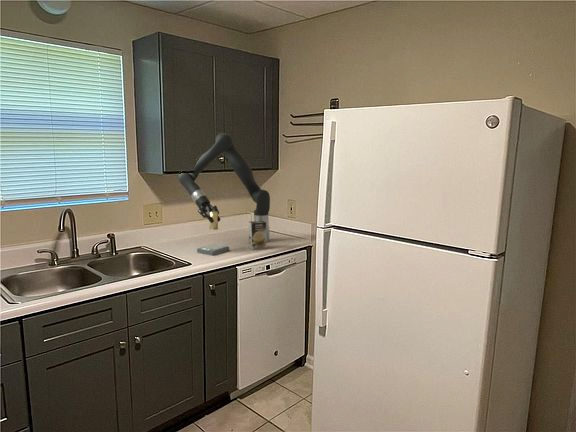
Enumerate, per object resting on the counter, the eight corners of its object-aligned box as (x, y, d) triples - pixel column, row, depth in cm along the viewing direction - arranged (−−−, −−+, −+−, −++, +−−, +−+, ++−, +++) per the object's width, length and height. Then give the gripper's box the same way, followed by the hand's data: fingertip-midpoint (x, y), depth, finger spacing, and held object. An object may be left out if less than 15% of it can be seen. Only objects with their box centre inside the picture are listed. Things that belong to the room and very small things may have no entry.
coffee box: (251, 250, 257) (251, 223, 255) (248, 247, 263) (248, 221, 261) (266, 248, 261) (266, 222, 258) (263, 246, 267) (263, 220, 264)
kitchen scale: (214, 248, 263) (214, 243, 262) (229, 250, 256) (229, 245, 255) (197, 252, 251) (197, 247, 251) (212, 255, 244) (212, 250, 244)
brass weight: (213, 228, 256) (213, 211, 254) (219, 228, 253) (219, 211, 251) (207, 229, 252) (207, 212, 250) (214, 230, 249) (213, 212, 247)
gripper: (194, 196, 247) (210, 219, 243) (212, 193, 259) (228, 215, 255) (188, 204, 251) (204, 227, 247) (205, 202, 263) (221, 223, 258)
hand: (216, 221), depth 251 cm, fingers closed on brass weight, 4 cm apart
